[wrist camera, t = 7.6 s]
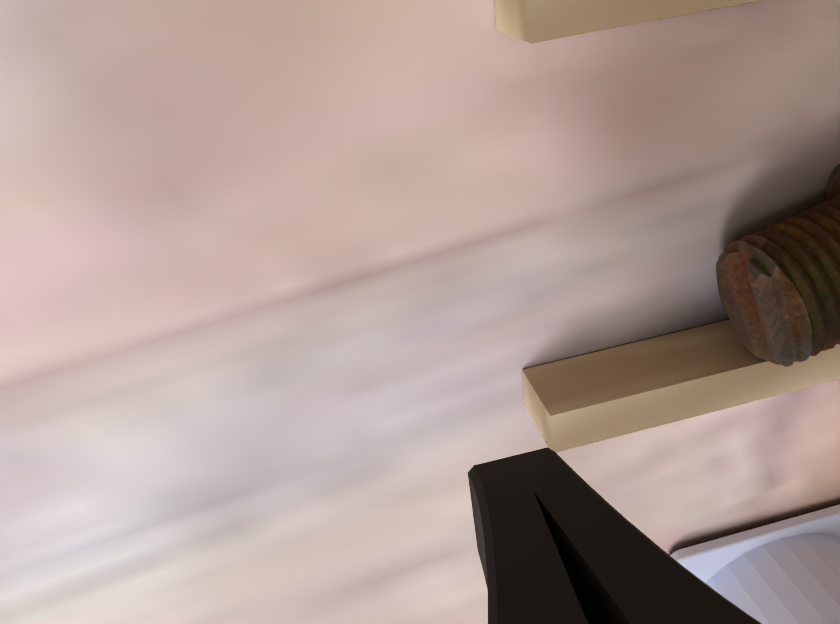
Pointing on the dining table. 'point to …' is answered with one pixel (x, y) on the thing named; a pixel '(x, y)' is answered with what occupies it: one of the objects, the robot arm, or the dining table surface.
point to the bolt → (787, 283)
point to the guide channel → (656, 357)
